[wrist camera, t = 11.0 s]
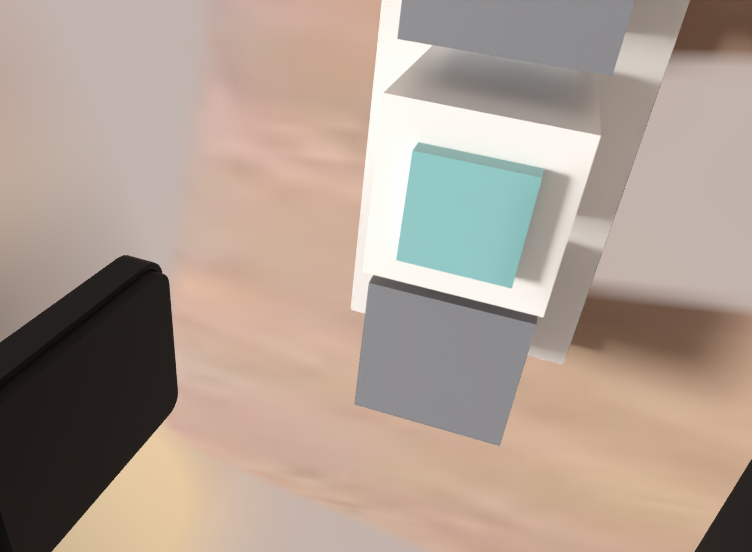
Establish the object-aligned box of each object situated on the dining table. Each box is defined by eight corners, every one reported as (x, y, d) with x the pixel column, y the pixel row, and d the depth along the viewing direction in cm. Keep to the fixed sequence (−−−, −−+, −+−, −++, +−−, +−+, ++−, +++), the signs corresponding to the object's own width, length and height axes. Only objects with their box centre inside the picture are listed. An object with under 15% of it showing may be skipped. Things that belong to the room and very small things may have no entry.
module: (553, 220, 21) (542, 330, 16) (412, 188, 22) (355, 283, 17) (597, 72, 19) (601, 144, 13) (434, 43, 20) (376, 99, 14)
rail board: (564, 342, 26) (557, 474, 20) (360, 291, 28) (299, 399, 22) (744, -184, 17) (831, -228, 11) (417, -215, 18) (333, -269, 12)
